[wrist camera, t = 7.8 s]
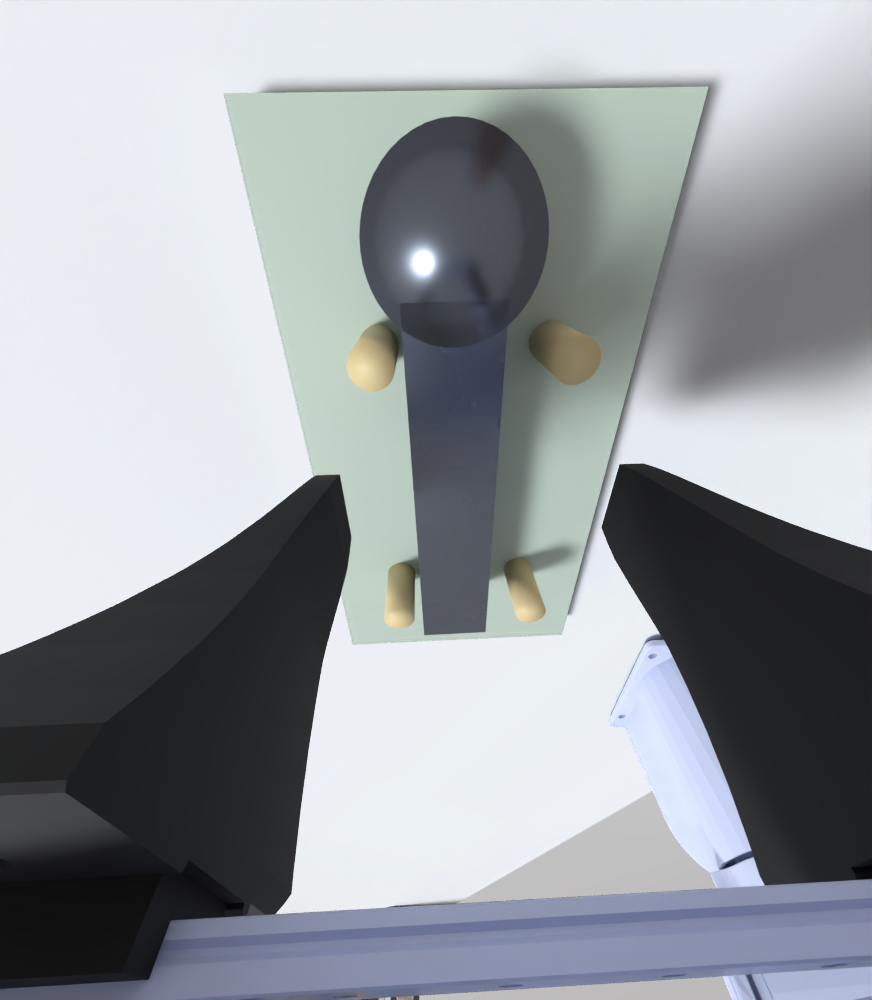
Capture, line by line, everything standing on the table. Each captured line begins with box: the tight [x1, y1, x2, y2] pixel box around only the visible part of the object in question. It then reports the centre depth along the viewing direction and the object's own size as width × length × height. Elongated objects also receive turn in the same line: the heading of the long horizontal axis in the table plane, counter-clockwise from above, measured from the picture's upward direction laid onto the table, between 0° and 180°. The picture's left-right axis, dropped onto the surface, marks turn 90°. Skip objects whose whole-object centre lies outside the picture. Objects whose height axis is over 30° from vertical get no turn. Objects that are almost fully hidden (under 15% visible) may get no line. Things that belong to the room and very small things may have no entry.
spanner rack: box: [224, 87, 708, 644], centre depth 13 cm, size 20×11×4 cm, turn 1°
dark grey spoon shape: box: [359, 116, 549, 635], centre depth 12 cm, size 15×4×3 cm, turn 2°
